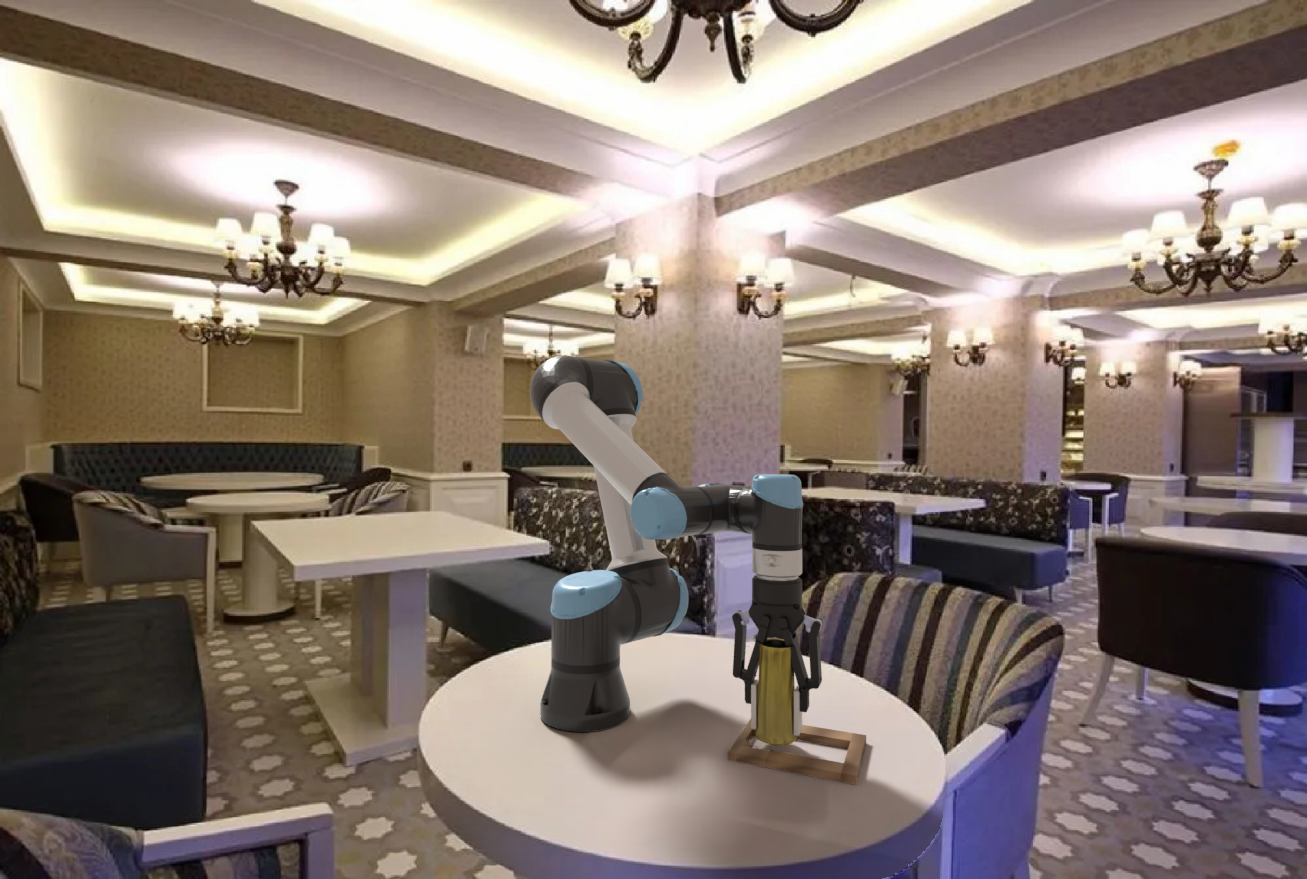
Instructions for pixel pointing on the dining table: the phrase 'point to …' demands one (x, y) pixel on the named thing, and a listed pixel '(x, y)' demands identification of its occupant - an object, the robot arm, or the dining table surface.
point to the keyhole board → (804, 764)
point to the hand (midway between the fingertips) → (776, 727)
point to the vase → (775, 694)
